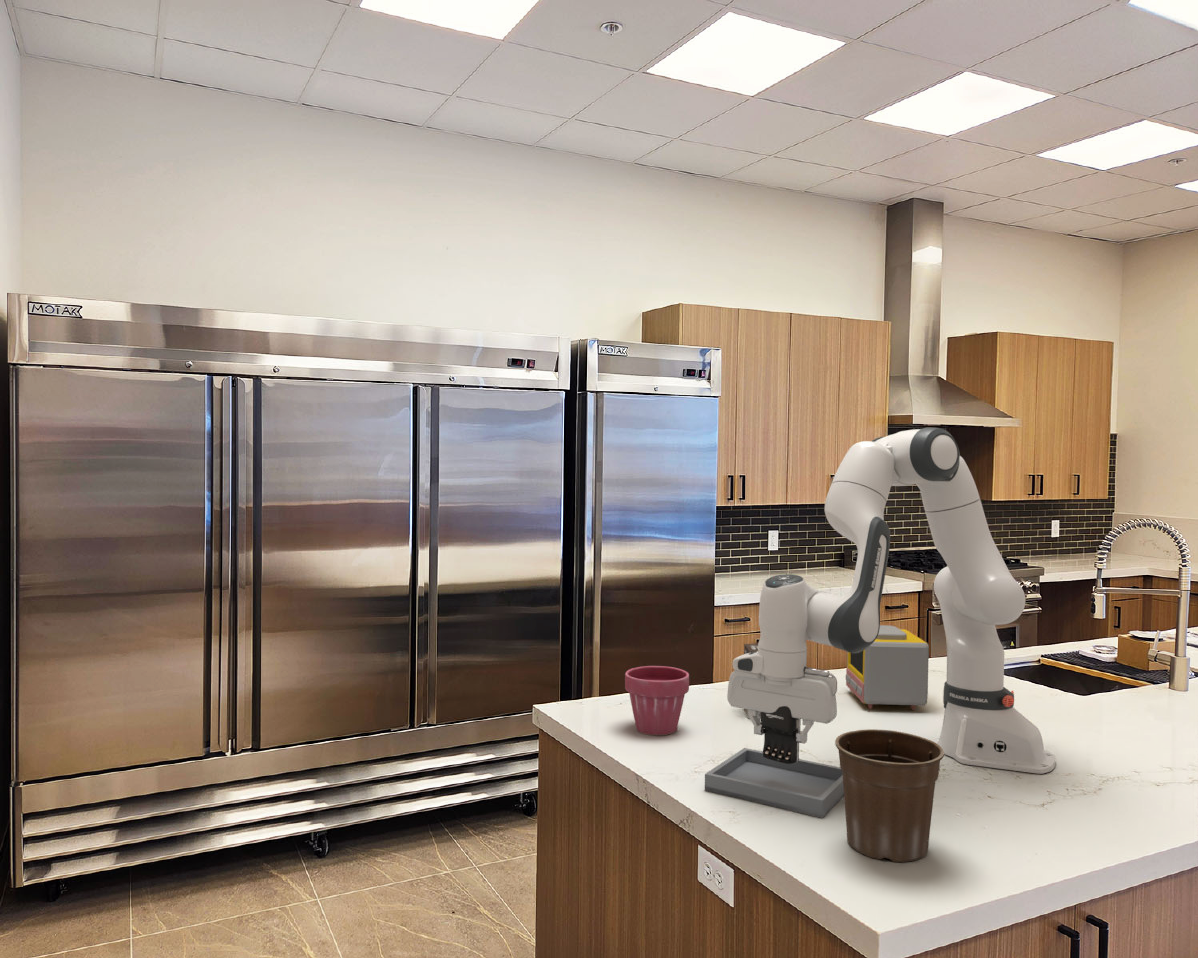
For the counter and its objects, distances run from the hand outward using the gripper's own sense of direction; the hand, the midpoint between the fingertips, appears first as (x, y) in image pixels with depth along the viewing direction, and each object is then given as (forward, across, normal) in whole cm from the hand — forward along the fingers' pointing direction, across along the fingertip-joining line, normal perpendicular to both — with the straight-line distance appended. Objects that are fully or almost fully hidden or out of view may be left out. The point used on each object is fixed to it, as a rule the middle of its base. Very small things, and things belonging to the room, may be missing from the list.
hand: (780, 738), depth 164 cm
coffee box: (+10, +22, -43) cm, 49 cm away
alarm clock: (+9, 0, -72) cm, 73 cm away
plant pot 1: (+10, +36, -18) cm, 41 cm away
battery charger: (+4, 0, 0) cm, 4 cm away
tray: (+9, 0, 0) cm, 9 cm away
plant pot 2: (+9, -23, +14) cm, 29 cm away
